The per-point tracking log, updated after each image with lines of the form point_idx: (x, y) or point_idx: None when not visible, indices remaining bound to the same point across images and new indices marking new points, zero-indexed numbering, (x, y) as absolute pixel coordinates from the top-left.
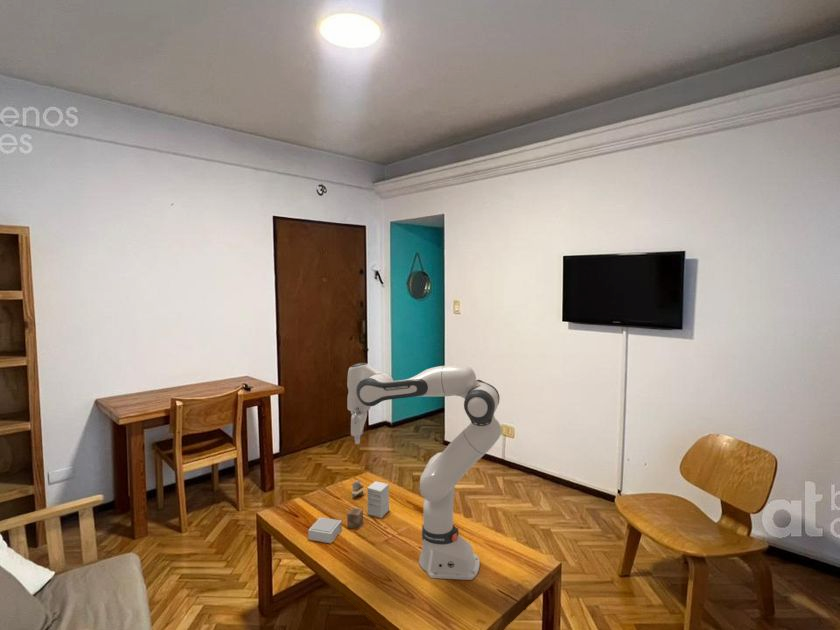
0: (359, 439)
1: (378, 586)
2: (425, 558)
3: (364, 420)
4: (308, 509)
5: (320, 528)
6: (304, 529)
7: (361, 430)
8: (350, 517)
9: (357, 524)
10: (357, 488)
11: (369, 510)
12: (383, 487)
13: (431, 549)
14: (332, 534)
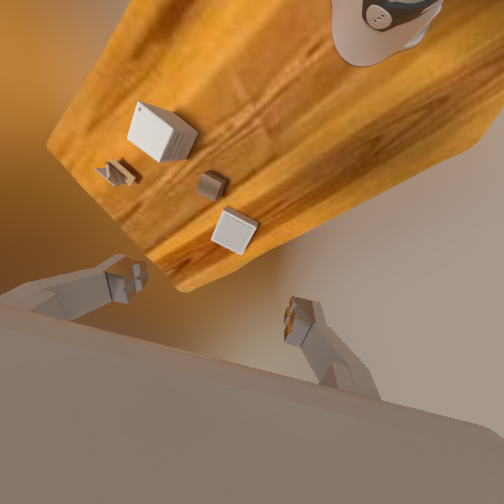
0: (331, 329)
1: (384, 160)
2: (398, 42)
3: (11, 393)
4: (172, 247)
5: (241, 240)
6: (220, 253)
7: (450, 466)
8: (218, 195)
9: (225, 182)
10: (114, 173)
11: (184, 156)
12: (155, 118)
13: (437, 6)
14: (252, 223)
